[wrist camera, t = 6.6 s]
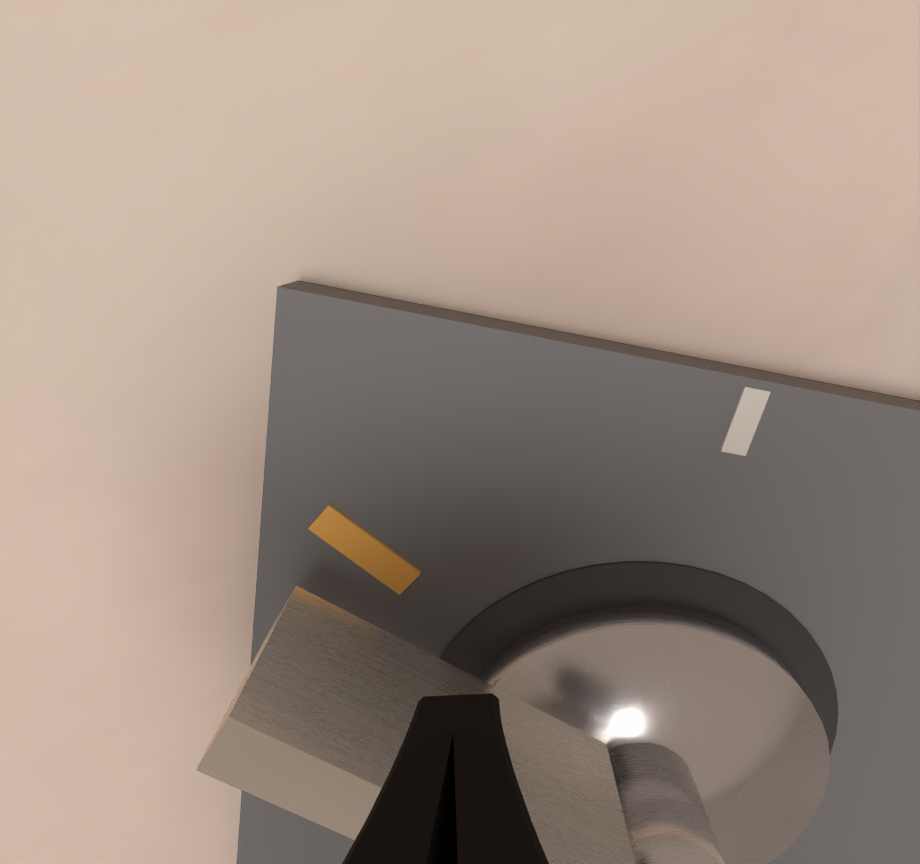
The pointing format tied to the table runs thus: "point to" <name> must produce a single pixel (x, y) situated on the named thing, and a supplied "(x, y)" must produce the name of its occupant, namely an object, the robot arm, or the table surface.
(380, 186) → the table surface
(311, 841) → the dial plate
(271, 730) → the dial
